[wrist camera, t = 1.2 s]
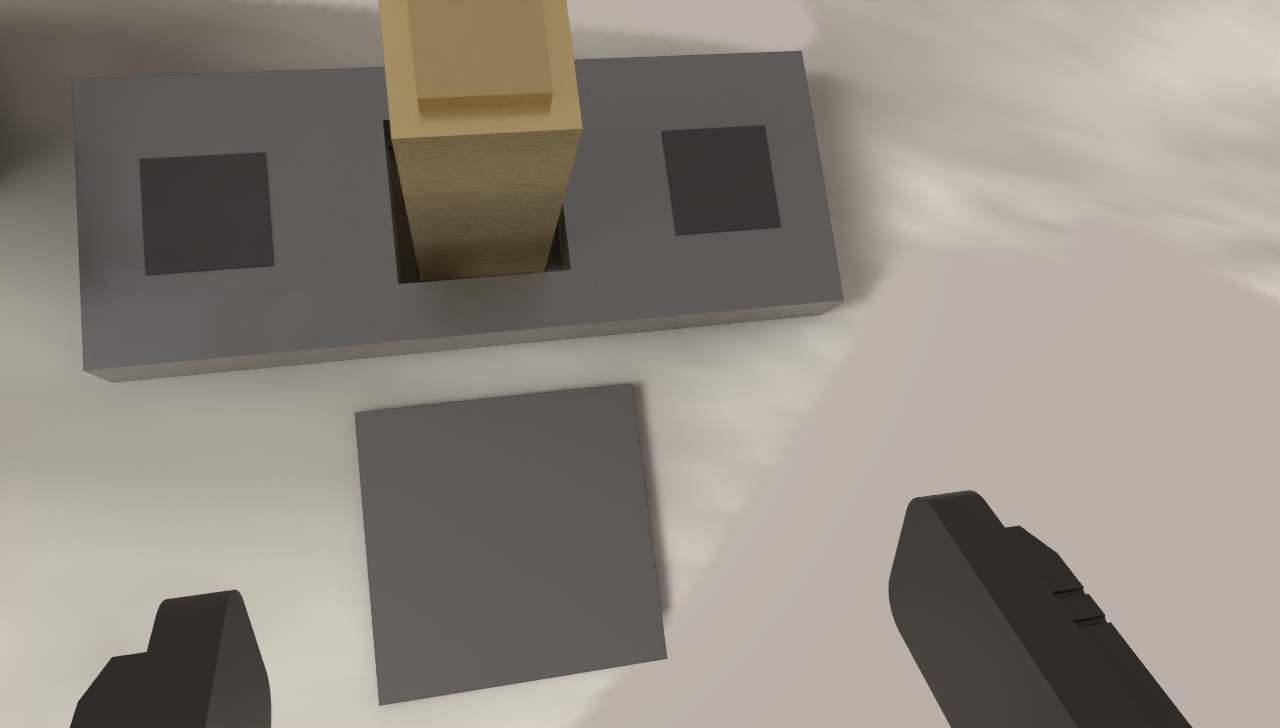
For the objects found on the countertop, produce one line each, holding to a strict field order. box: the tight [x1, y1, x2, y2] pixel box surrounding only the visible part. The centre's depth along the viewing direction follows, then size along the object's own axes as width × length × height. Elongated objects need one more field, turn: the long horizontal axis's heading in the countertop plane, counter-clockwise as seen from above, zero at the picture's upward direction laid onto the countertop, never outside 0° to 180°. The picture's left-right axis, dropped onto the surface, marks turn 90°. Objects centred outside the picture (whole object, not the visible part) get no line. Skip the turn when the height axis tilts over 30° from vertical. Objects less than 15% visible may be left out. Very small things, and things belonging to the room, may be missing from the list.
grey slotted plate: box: [72, 51, 843, 382], centre depth 35 cm, size 26×10×2 cm, turn 98°
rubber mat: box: [355, 384, 667, 706], centre depth 34 cm, size 10×10×1 cm
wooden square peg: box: [378, 0, 583, 281], centre depth 29 cm, size 5×5×14 cm
